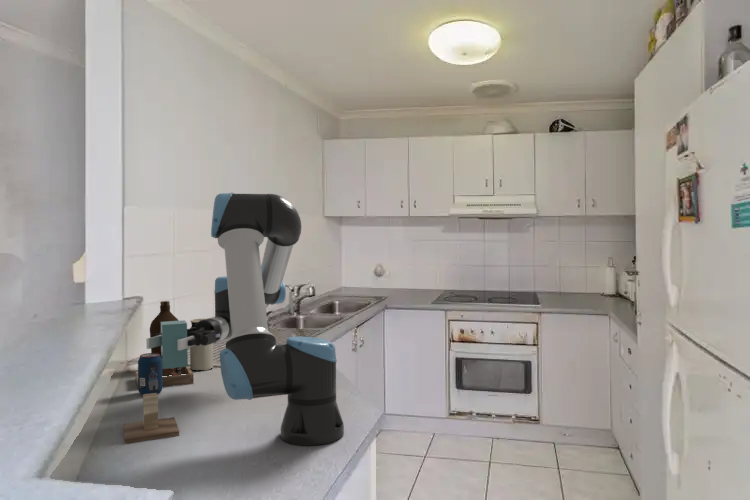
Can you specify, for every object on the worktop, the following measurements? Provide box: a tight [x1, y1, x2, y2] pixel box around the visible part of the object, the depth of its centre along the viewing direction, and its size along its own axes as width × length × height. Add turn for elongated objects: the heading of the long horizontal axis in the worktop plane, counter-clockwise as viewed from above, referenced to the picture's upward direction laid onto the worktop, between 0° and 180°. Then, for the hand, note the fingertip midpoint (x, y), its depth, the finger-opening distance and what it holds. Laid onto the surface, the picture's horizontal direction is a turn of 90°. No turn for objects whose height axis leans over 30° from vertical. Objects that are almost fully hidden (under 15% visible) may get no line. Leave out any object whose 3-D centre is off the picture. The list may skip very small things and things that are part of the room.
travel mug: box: [189, 318, 214, 371], centre depth 204 cm, size 8×8×18 cm
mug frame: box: [135, 365, 194, 390], centre depth 186 cm, size 15×17×3 cm
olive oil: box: [149, 300, 180, 357], centre depth 202 cm, size 11×11×25 cm
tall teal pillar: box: [161, 319, 189, 369], centre depth 150 cm, size 6×6×12 cm
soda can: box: [137, 352, 164, 396], centre depth 171 cm, size 7×7×12 cm
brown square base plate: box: [123, 393, 180, 444], centre depth 137 cm, size 12×12×9 cm
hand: (163, 344), depth 146 cm, fingers closed on tall teal pillar, 9 cm apart
